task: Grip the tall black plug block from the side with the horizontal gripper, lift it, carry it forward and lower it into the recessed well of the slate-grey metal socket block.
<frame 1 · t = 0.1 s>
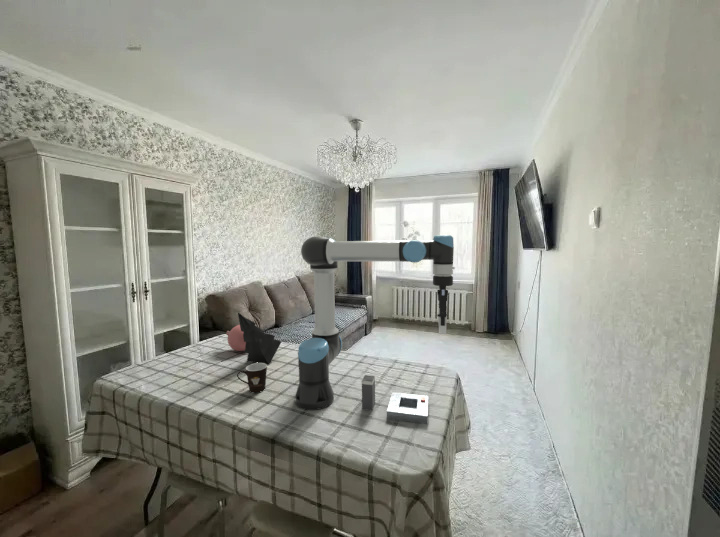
hand: (442, 328, 120), 28 cm above the table, tool pointing down, fingers open, 13 cm apart
socket block: (408, 411, 113), on the table
dark angular faceted shape: (257, 363, 160), on the table
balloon: (239, 350, 181), on the table
coffee mug: (254, 389, 131), on the table
plug: (368, 406, 116), on the table
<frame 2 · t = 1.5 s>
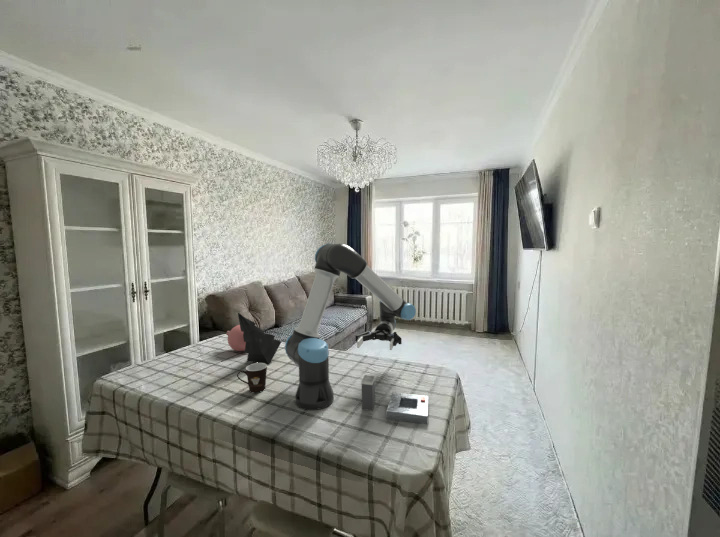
hand: (374, 345, 124), 20 cm above the table, tool horizontal, fingers open, 13 cm apart
nothing on the table moved.
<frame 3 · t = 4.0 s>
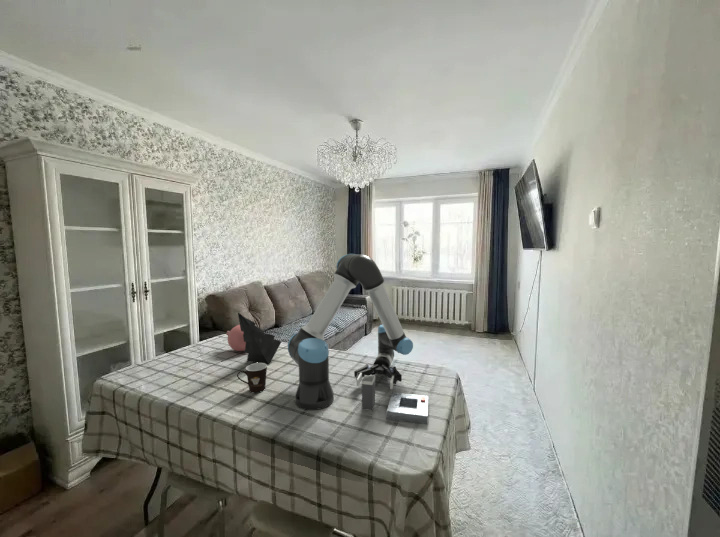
hand: (374, 384, 122), 6 cm above the table, tool horizontal, fingers open, 13 cm apart
nothing on the table moved.
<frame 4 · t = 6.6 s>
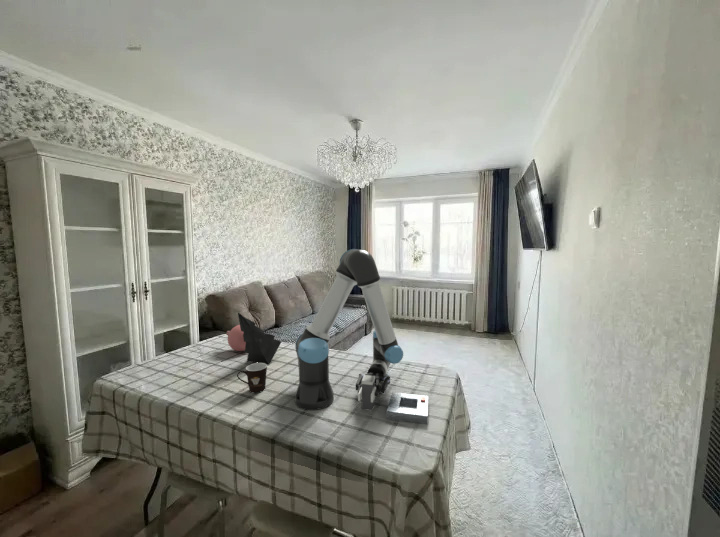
hand: (365, 398, 110), 6 cm above the table, tool horizontal, fingers closed on plug, 4 cm apart
plug: (368, 406, 116), on the table, touching gripper
everything else where it was.
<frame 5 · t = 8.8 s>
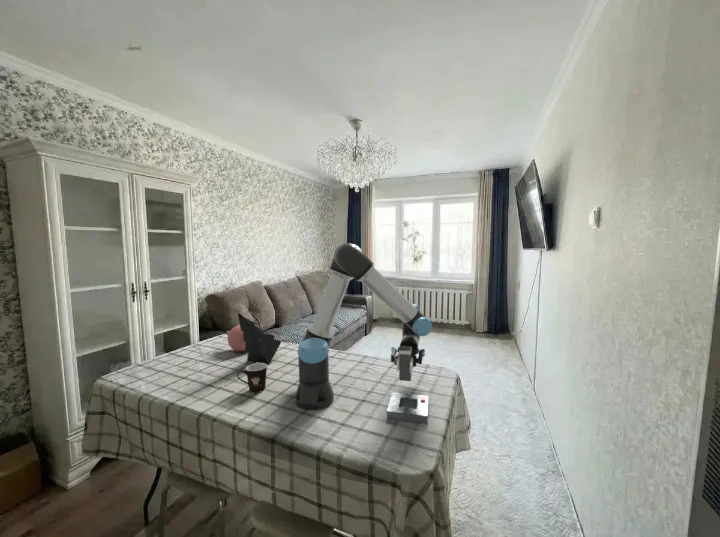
hand: (404, 367, 107), 18 cm above the table, tool horizontal, fingers closed on plug, 4 cm apart
plug: (405, 377, 112), point 12 cm above the table, touching gripper
everything else where it was.
when the fingers open (9 cm above the table, at t = 11.1 s): plug drops 2 cm, resting on socket block.
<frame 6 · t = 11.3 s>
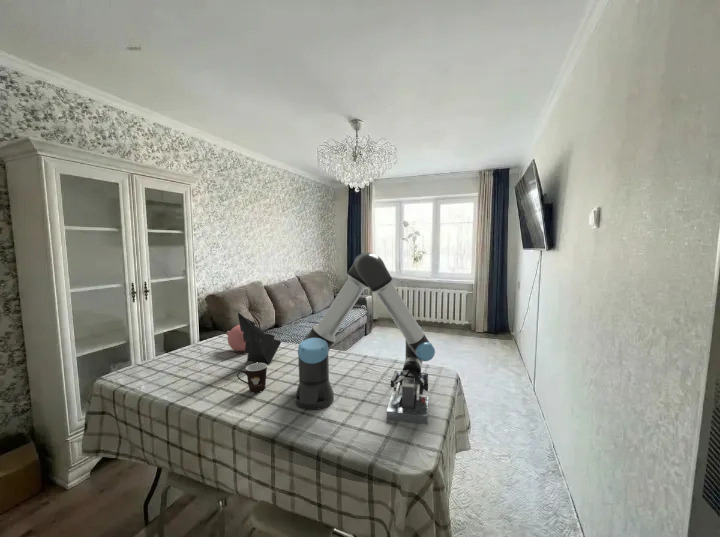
hand: (407, 395, 107), 8 cm above the table, tool horizontal, fingers open, 7 cm apart
plug: (408, 409, 113), point 1 cm above the table, touching socket block
everything else where it was.
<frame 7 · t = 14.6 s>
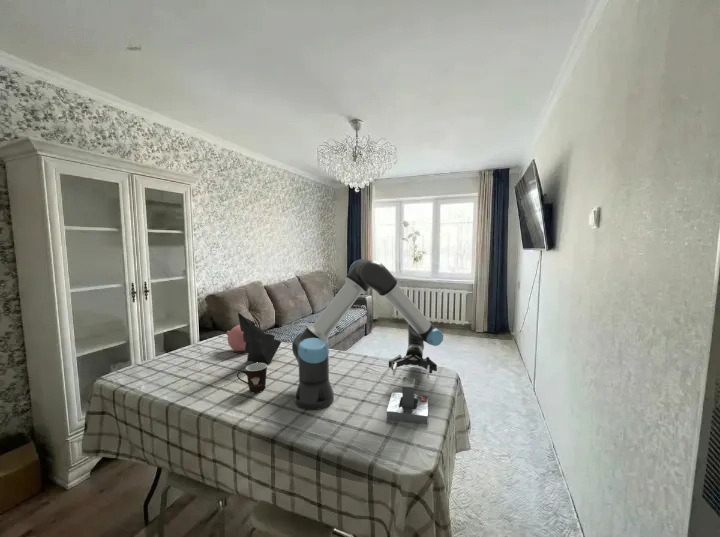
hand: (410, 373, 122), 10 cm above the table, tool horizontal, fingers open, 13 cm apart
nothing on the table moved.
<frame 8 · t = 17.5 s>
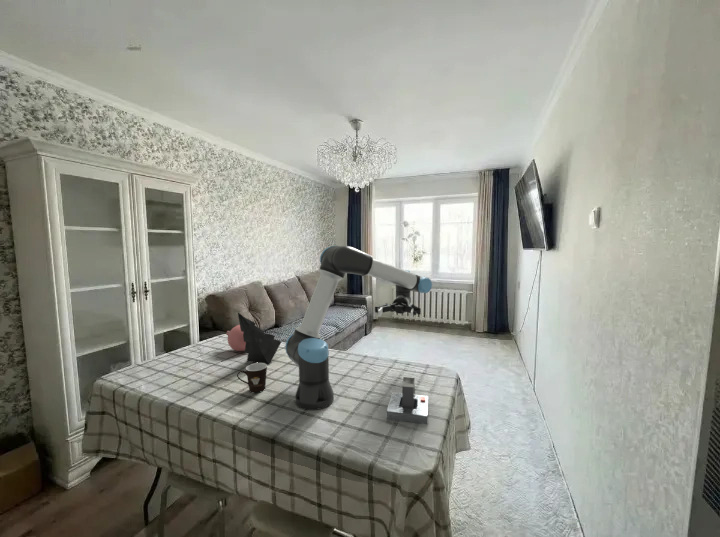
hand: (395, 314, 128), 32 cm above the table, tool horizontal, fingers open, 13 cm apart
nothing on the table moved.
at the end: plug 0.1 cm off-centre on the socket block, point 0.6 cm above the socket block's base; plug tilted 0°; the gripper is holding nothing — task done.
